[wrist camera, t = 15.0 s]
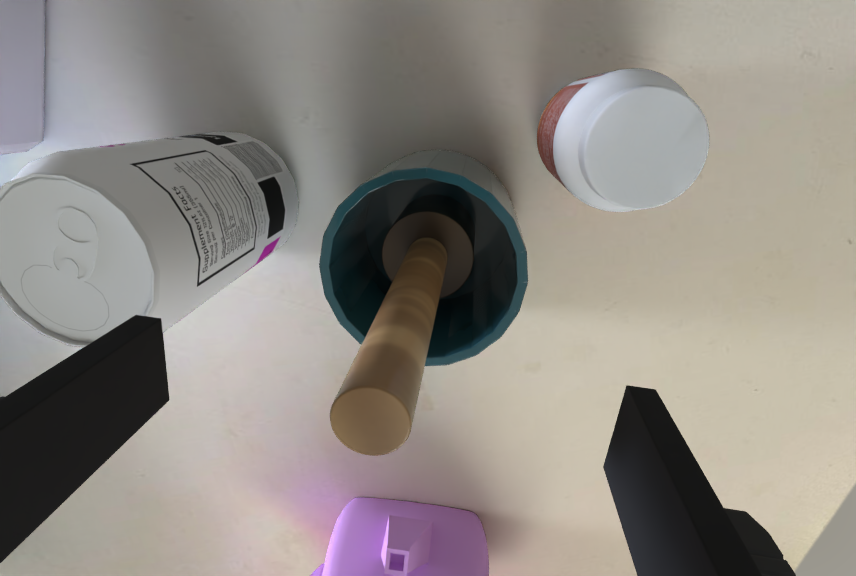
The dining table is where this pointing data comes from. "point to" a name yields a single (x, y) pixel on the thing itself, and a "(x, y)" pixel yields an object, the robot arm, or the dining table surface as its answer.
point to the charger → (21, 74)
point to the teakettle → (405, 541)
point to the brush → (403, 324)
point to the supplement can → (138, 230)
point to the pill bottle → (623, 139)
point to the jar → (377, 212)
